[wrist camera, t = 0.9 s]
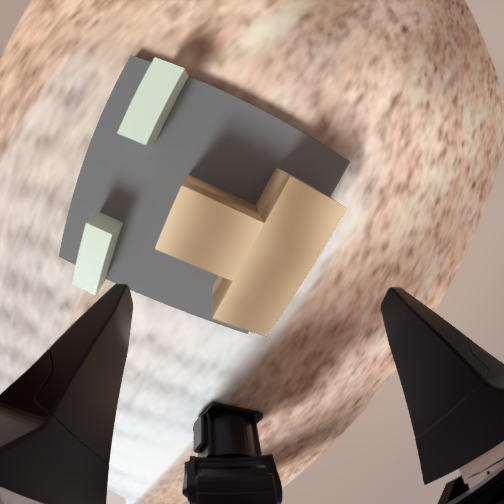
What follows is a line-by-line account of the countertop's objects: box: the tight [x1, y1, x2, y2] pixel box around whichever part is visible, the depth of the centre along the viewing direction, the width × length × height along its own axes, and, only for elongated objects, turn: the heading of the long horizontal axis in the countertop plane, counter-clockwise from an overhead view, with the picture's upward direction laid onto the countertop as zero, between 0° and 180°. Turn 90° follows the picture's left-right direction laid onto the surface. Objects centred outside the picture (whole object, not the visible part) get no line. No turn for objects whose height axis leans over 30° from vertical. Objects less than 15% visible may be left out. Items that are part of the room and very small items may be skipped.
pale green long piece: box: [72, 58, 189, 295], centre depth 17 cm, size 2×16×2 cm, turn 152°
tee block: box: [155, 167, 347, 337], centre depth 19 cm, size 9×10×4 cm
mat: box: [59, 56, 350, 334], centre depth 20 cm, size 17×16×1 cm
